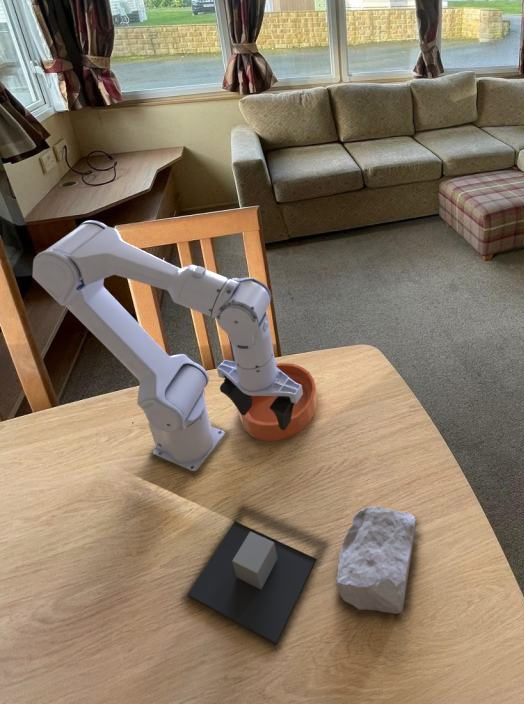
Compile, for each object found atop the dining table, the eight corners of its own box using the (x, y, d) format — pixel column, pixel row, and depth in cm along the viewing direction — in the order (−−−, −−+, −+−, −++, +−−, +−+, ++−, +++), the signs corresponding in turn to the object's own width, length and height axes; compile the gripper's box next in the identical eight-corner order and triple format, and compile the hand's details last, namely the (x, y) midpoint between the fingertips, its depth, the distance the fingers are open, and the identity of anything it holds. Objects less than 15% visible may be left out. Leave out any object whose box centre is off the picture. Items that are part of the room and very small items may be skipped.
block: (236, 577, 66) (232, 561, 65) (254, 547, 70) (250, 531, 68) (261, 589, 65) (256, 573, 63) (277, 558, 68) (274, 542, 66)
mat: (187, 596, 65) (187, 594, 65) (242, 510, 75) (242, 508, 75) (276, 644, 60) (276, 643, 60) (322, 546, 70) (322, 544, 70)
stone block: (335, 611, 64) (408, 620, 61) (326, 588, 63) (400, 597, 60) (358, 521, 75) (421, 526, 72) (351, 500, 73) (415, 504, 70)
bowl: (224, 428, 88) (220, 411, 86) (269, 372, 100) (266, 355, 98) (292, 453, 83) (289, 436, 81) (330, 391, 95) (328, 374, 93)
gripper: (309, 349, 74) (317, 411, 80) (232, 326, 79) (244, 386, 85) (283, 383, 68) (294, 448, 74) (202, 356, 73) (217, 418, 79)
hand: (266, 417), depth 79 cm, fingers open, 7 cm apart
